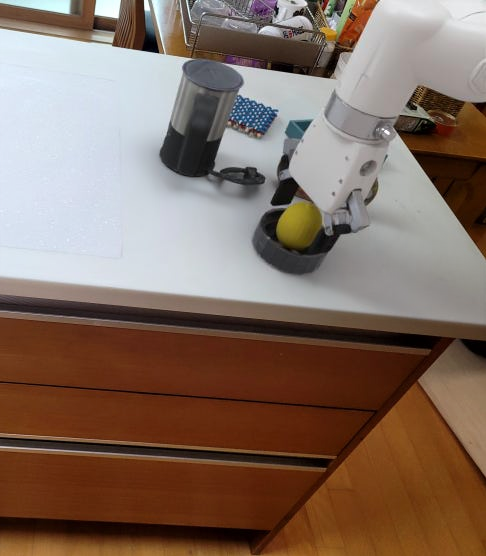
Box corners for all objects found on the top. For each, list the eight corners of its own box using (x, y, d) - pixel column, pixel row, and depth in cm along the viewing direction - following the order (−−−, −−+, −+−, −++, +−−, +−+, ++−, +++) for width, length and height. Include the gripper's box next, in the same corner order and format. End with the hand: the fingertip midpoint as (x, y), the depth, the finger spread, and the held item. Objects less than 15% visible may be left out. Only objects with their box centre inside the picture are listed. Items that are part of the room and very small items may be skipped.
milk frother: (155, 140, 91) (176, 54, 80) (243, 148, 94) (276, 66, 83) (169, 195, 82) (195, 105, 71) (267, 201, 84) (307, 116, 74)
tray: (341, 128, 105) (347, 117, 103) (381, 167, 97) (388, 155, 96) (284, 132, 100) (289, 120, 98) (321, 172, 93) (328, 160, 91)
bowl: (296, 222, 82) (305, 204, 80) (334, 270, 76) (346, 252, 73) (239, 230, 79) (247, 211, 76) (274, 280, 73) (285, 262, 70)
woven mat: (224, 97, 106) (228, 88, 104) (276, 118, 103) (280, 108, 102) (206, 119, 99) (209, 109, 97) (261, 142, 96) (265, 132, 95)
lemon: (314, 254, 77) (340, 211, 71) (288, 266, 74) (313, 222, 69) (286, 230, 80) (309, 186, 74) (260, 241, 77) (282, 196, 71)
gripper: (436, 158, 58) (357, 269, 70) (341, 76, 68) (287, 185, 81) (382, 162, 55) (310, 277, 68) (292, 76, 66) (244, 189, 78)
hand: (298, 227), depth 74 cm, fingers open, 9 cm apart
